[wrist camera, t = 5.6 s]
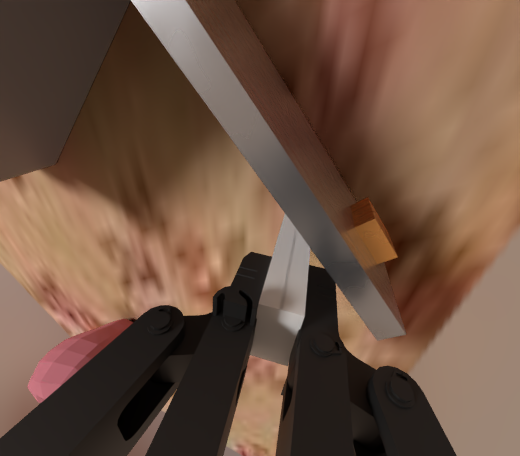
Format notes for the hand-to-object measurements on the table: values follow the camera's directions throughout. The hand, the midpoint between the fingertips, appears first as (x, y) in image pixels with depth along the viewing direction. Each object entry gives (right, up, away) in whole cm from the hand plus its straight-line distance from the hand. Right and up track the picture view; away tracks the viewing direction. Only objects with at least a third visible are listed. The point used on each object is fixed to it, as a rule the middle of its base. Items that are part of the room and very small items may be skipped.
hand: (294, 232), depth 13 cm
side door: (0, +6, -1) cm, 6 cm away
